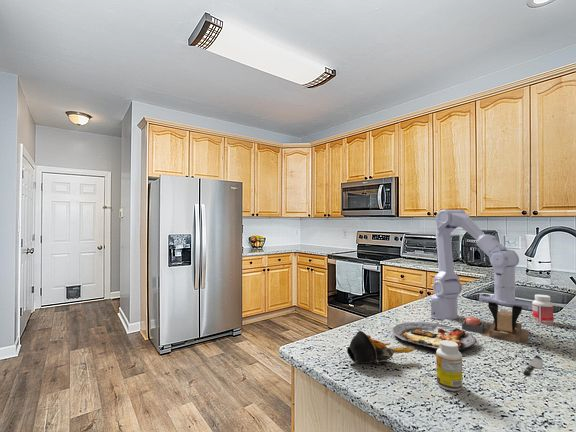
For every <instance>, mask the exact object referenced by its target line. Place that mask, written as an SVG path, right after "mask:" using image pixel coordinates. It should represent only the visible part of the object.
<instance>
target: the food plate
mask: <svg viewBox="0 0 576 432" xmlns="http://www.w3.org/2000/svg"><path fill="white" fill-rule="evenodd" d="M437 328H438V329H437ZM436 329H437V333H433V332H434V331H435V330H436ZM446 330H449V331H450V332H447V331H446ZM391 331H392V334H393V335H395V337H397V338H399V339H401V340H402V341H405V342H410V343H411V344H414V345H415V344H416V345H419V346H423V347H425V348H427V347H428V348H432V349H436V350H437V349H438V348H440V341H442V340H448V341H453V342H455V343H457V344H458V351H459V350H464V349H469V348H471V347H472V346H474V345H475V344H477V339H476V338H475V337H474V336H473V334H471V333H469V332H466V330H463V329H461V328H460V329H459V328H458V327H454V326H450V325H444V324H440V323H433V322H427V321H415V322H413V321H412V322H411V321H410V322H409V321H408V322H401V323H398V324H396V325H395V326H394V327H392V328H391Z"/></svg>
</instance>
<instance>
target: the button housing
mask: <svg viewBox="0 0 576 432" xmlns="http://www.w3.org/2000/svg"><path fill="white" fill-rule="evenodd" d="M461 330H463V331H469V332H475V333H481V334H483V333H484V332H483V331H485V322H482V321H480V326H475V325H470V324H466V318H465V319H464V320H463V322H462V323H461Z"/></svg>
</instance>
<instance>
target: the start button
mask: <svg viewBox="0 0 576 432" xmlns="http://www.w3.org/2000/svg"><path fill="white" fill-rule="evenodd" d="M465 319H466V324H470V325H475V326H480V322H481V319H480V318H478V317H475V316H474V317H473V316H466V317H465Z"/></svg>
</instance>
